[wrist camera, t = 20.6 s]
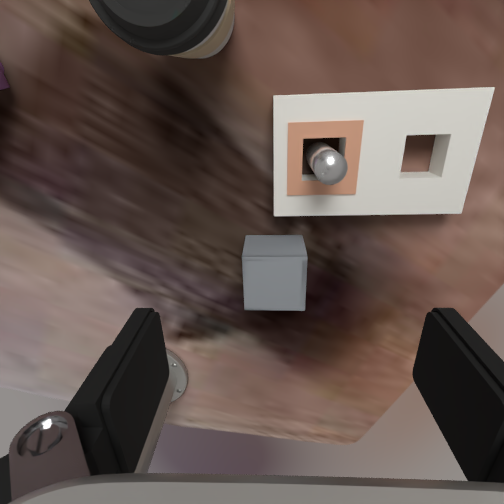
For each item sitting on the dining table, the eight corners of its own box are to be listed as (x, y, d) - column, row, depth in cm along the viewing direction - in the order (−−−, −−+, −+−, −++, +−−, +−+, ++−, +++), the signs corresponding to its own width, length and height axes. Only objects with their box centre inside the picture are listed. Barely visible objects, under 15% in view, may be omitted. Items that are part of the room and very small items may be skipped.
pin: (330, 167, 35) (346, 184, 28) (305, 168, 35) (314, 185, 28) (332, 141, 34) (349, 151, 27) (306, 142, 34) (316, 153, 27)
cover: (300, 283, 42) (304, 310, 37) (247, 283, 42) (244, 310, 37) (302, 234, 39) (307, 256, 34) (245, 235, 39) (241, 256, 34)
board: (447, 205, 36) (462, 214, 33) (273, 208, 38) (274, 216, 35) (475, 88, 31) (496, 86, 28) (273, 96, 32) (273, 95, 30)
